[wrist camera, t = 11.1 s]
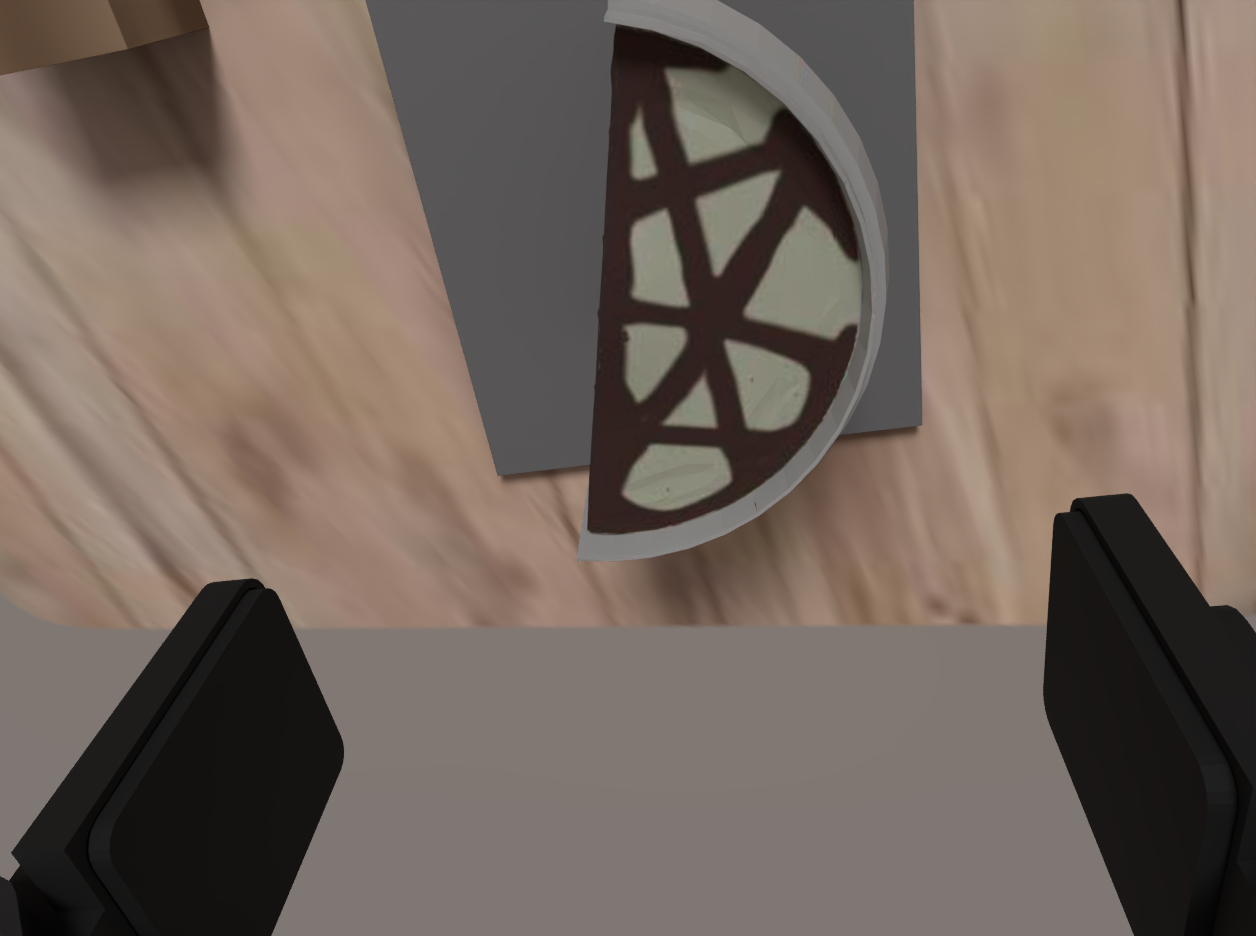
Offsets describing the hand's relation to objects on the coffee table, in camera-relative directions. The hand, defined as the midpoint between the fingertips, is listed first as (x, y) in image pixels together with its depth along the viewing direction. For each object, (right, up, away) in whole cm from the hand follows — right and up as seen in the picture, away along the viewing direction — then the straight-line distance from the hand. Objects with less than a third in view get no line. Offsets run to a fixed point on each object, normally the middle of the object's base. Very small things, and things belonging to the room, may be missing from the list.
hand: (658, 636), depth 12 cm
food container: (+2, +10, +16) cm, 19 cm away
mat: (+1, +10, +17) cm, 19 cm away
